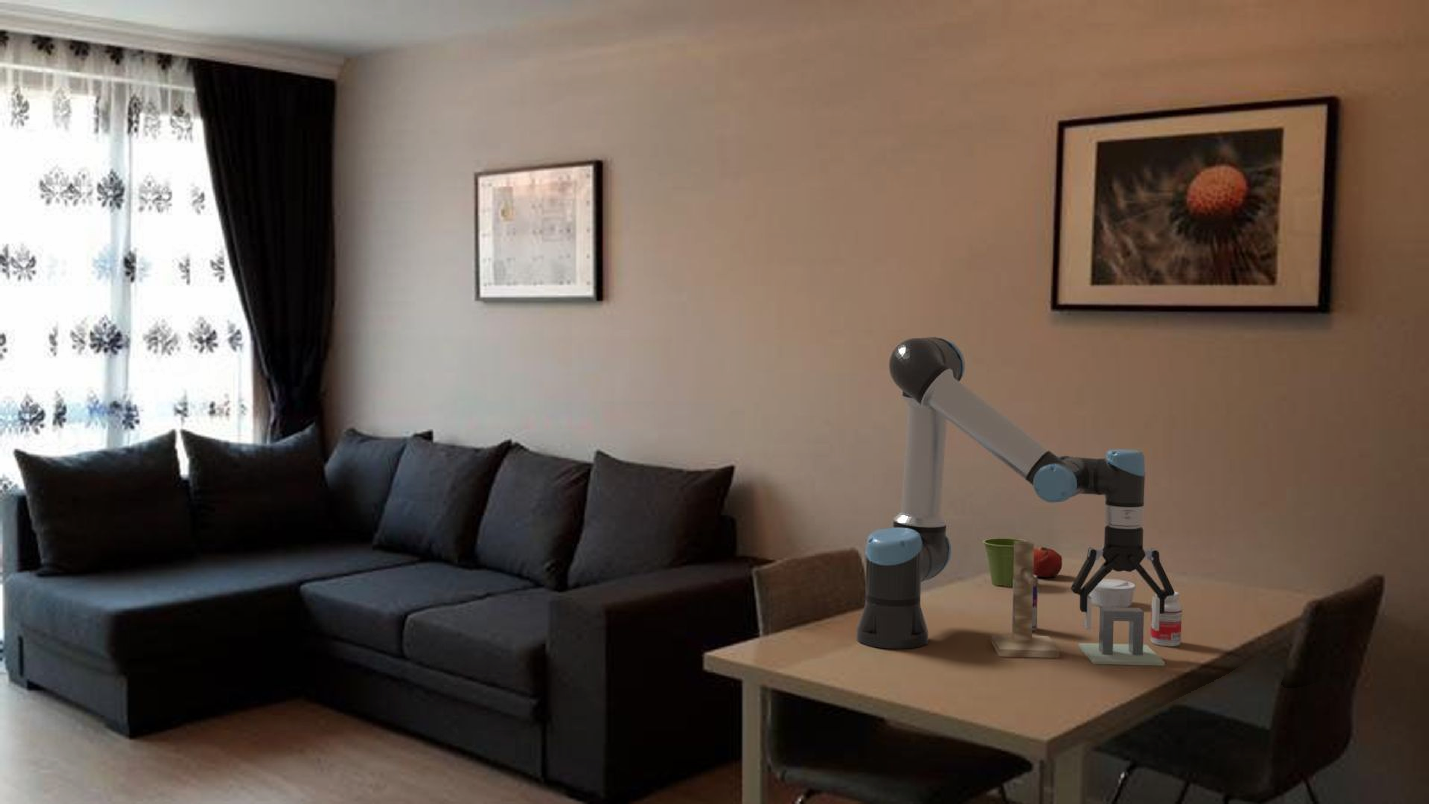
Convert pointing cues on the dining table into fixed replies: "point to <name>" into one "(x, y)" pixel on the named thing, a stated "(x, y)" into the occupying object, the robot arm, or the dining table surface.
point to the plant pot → (1001, 560)
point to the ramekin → (1113, 593)
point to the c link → (1135, 628)
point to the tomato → (1046, 562)
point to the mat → (1121, 655)
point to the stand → (1023, 612)
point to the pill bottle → (1168, 623)
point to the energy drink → (1034, 612)
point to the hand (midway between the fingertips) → (1121, 628)
